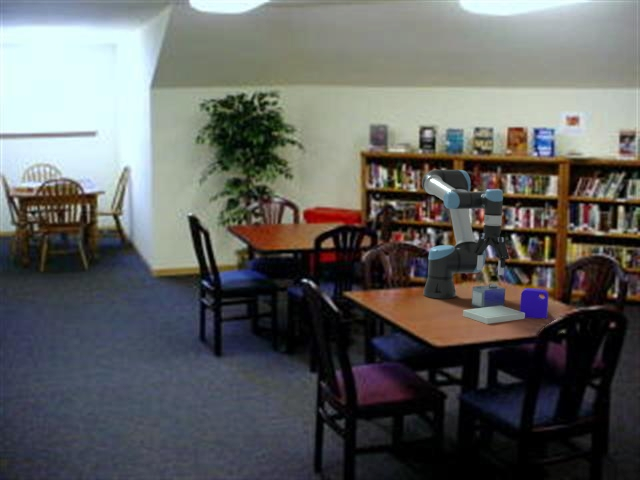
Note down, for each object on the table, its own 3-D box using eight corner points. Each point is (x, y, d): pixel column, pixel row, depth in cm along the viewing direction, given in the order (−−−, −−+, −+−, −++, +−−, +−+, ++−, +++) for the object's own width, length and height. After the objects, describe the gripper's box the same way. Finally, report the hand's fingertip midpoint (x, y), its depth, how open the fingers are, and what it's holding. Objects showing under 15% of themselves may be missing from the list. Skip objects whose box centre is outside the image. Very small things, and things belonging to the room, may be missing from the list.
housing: (470, 306, 379) (471, 284, 378) (492, 304, 386) (493, 282, 384) (482, 310, 373) (483, 287, 371) (504, 307, 379) (505, 285, 377)
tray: (462, 315, 361) (463, 309, 361) (500, 311, 372) (500, 305, 371) (486, 323, 348) (487, 317, 348) (524, 318, 359) (525, 312, 359)
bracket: (546, 319, 359) (547, 292, 358) (519, 316, 363) (521, 289, 361) (550, 310, 376) (552, 284, 374) (525, 308, 380) (526, 282, 378)
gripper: (467, 221, 382) (465, 268, 385) (505, 228, 361) (503, 277, 364) (480, 221, 386) (477, 267, 389) (519, 227, 365) (516, 276, 368)
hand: (490, 272), depth 377 cm, fingers open, 13 cm apart
